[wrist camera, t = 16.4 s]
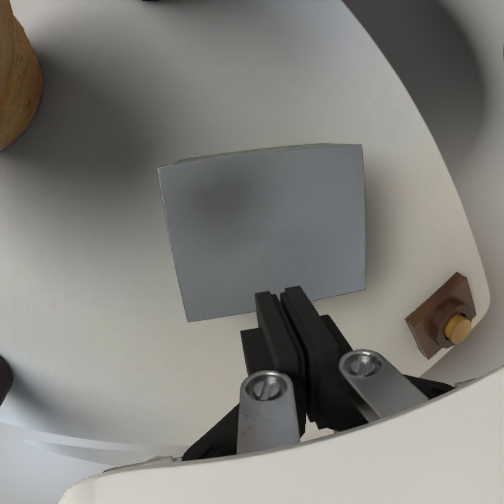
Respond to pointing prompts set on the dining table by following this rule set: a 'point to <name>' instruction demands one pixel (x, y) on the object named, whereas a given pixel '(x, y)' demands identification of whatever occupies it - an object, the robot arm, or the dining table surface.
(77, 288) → the dining table surface
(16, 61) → the potted plant
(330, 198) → the tin lid
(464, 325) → the button
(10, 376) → the wine bottle
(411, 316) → the button block
